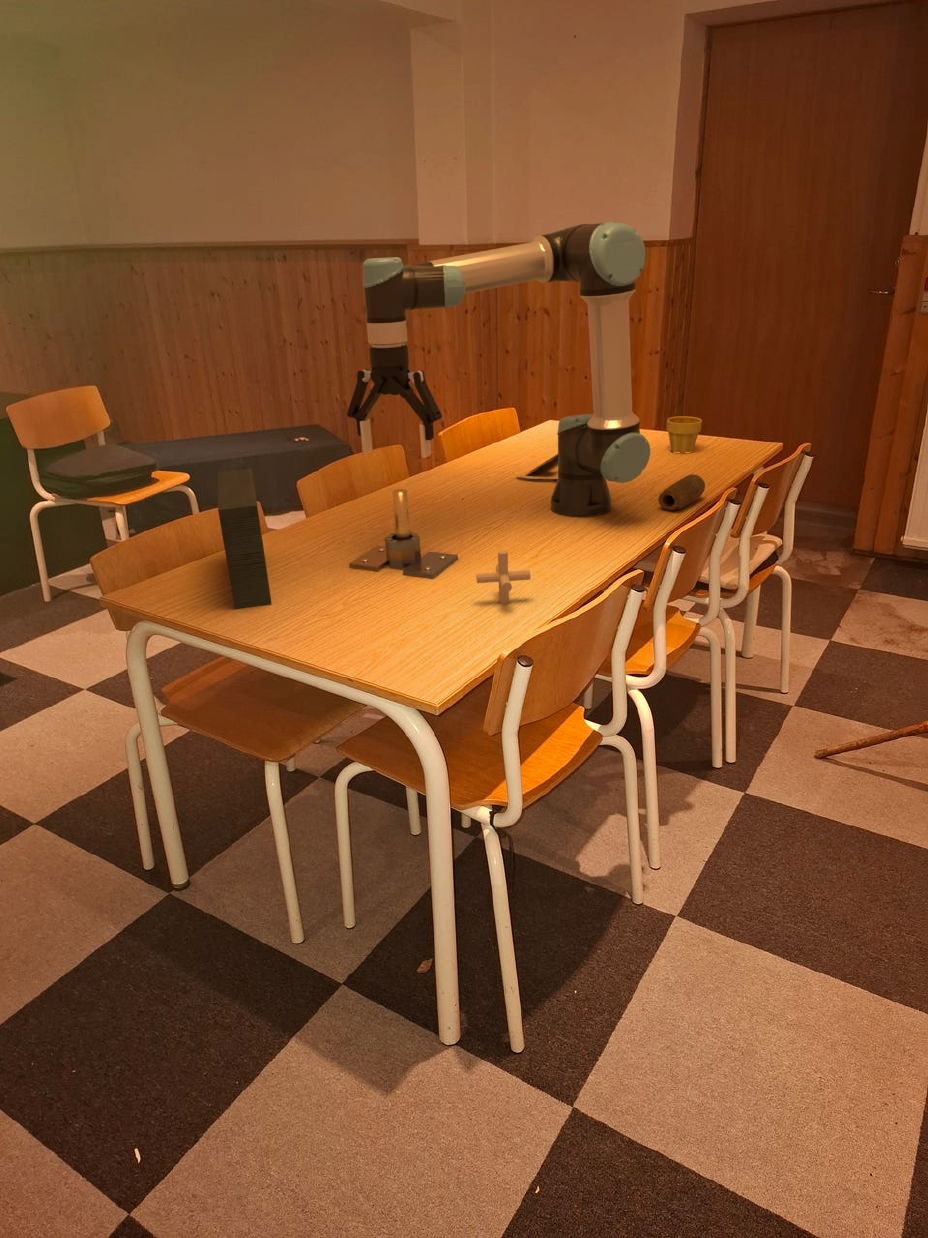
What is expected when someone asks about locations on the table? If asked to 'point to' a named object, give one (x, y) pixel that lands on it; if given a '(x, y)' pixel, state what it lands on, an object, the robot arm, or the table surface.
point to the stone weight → (682, 492)
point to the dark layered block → (243, 539)
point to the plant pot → (683, 432)
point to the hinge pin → (401, 514)
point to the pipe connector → (503, 576)
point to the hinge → (404, 558)
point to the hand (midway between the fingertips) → (396, 454)
